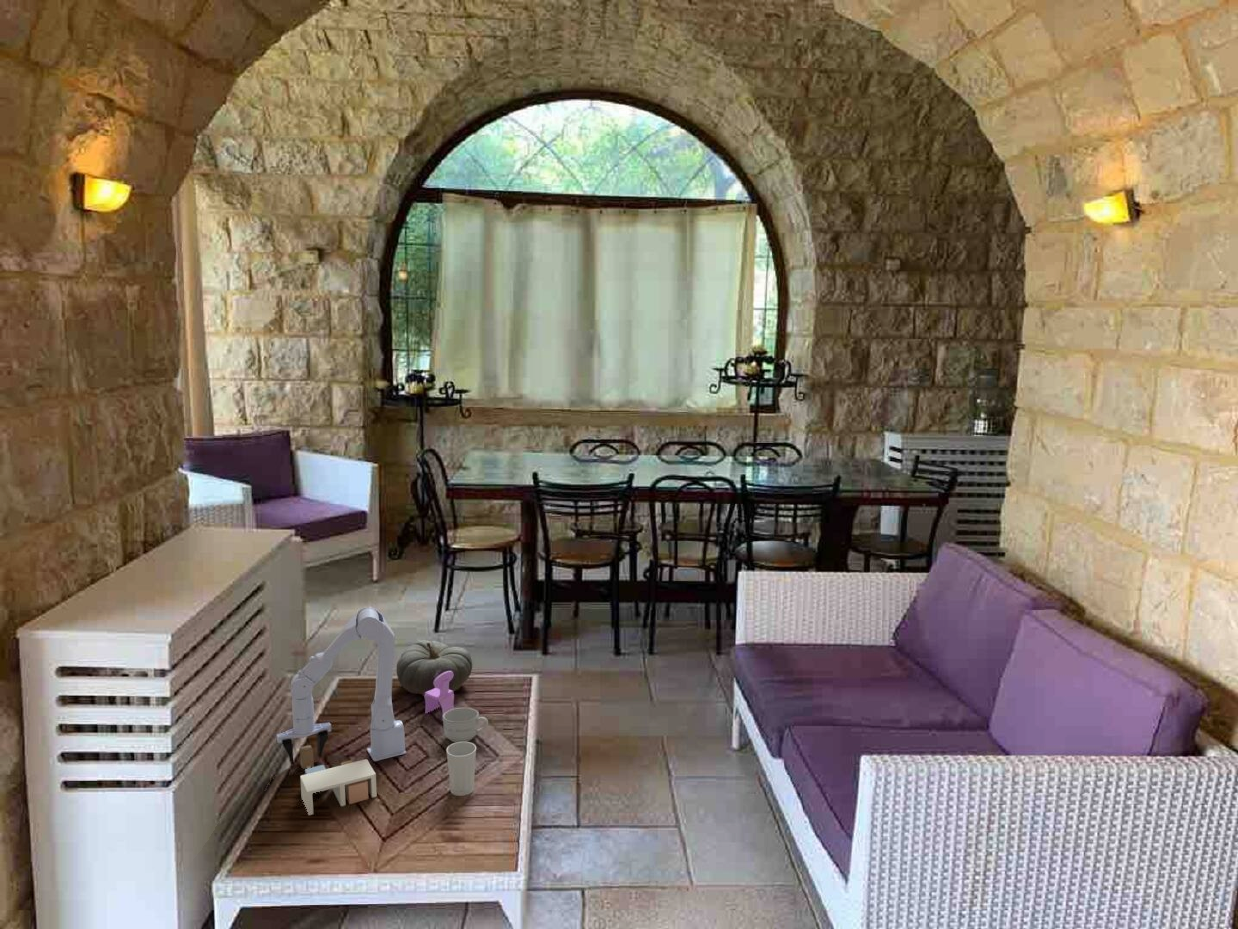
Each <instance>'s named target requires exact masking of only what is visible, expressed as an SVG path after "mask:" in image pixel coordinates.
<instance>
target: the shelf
mask: <svg viewBox="0 0 1238 929" xmlns="http://www.w3.org/2000/svg"><path fill="white" fill-rule="evenodd" d="M299 777H300V794H301V797H300V798H301V801H302V800H303V801H302V803H303V802H304V803H303V805H305V806H304V808H305V807H306V808H305V810H306V809H307V810H306V812H308V813H307V815H308V816H312V815H314V802H313V795H314V794H313V793H315V794H317V793H316V792H319V793H321V792H320V791H322V792H325V791H324V790H326V791H329V790H332V792H333V793H334V795H335V798H336V799H337V801H338V803H339V805H340V807H344V806H346V796H345V785H347V784H350V783H354V782H358V781H362V780H367V781H368V794H369V795H370V796H371V798H376V797H378V796H377V794H378V793H377V773H376V772H375V771H374V768H373V767H372V765H371V764H370V762H369V760H368V759H367V758H364V759H362V760H357V761H353V763H349V764H345V765H337V766H334V767H331V768H326V769H325V770H321V771H317V772H313V773H309V774H305V773H304V774H302V775H300V776H299ZM328 789H329V790H328Z"/></svg>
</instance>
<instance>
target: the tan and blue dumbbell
mask: <svg viewBox="0 0 1238 929" xmlns="http://www.w3.org/2000/svg"><path fill="white" fill-rule="evenodd" d="M299 758H300V766H301V769H302V768H303V769H304V768H307V769H305V770H304V775H305V774H309V773H313V772H317V771H321V770H325V769H327V768H326V766H325V765H324V764H321V765H316V766H315V765H314V749H313V747H312V745H311V744H309V745H305V746H300V747H299ZM311 767H312V768H311ZM303 769H302V770H303ZM329 790H330V789H328V790H324V791H323V792H326V791H329Z"/></svg>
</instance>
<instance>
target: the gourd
mask: <svg viewBox="0 0 1238 929" xmlns="http://www.w3.org/2000/svg"><path fill="white" fill-rule="evenodd" d="M471 657H472V656H471V654H470V653H469V651H468V650H467V649H466V648H463V647H459V646H452V647H450V646H449V645H447V644H446V643H443V642H441V641H437V640H432V641H431V640H427V639H423V640H422V639H419V640H416V641H415V642H414V643H413V644H412V645H410V646H408V647H407V648H406V649H405V650H404V652H403V653H402V654H401V656H400V658H399V659H398V660H397V663H396V675H397V680H398V683H399V684H400V686H401V687H402V688H404V689H405V690H406V691H408V692H409V693H411V694H416V695H417V694H418V695H422V696H423V697H424V696H425V692H427V691H430V690H432V689H434V688H435V686H434V684H433V682H434V680H435V679H436V678H437V677H438V676H439V675H440V674H442V673H444V672H446V671H452V672H453V674H454V676H453V678H452V680H451V681H450V682H449V690H452V691H453V692H455V691H458V690H459V689H460V688H461V687H462V686H463V684H465V683H466V682H467V680H468V679H469V678H470V676H471V674H472V670H473V661H472V658H471Z"/></svg>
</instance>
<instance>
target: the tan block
mask: <svg viewBox="0 0 1238 929" xmlns="http://www.w3.org/2000/svg"><path fill="white" fill-rule="evenodd" d="M353 762H354V761H353V760H352V759H350V760H346V761H342V762H340V764H341V765H345V764H349V763H353ZM341 765H340V766H341ZM345 799H346V800H347V802H348V804H349V805H352V804H355V803H358V802H362V801H366V800H369V791H368V781H367V780H362V781H358V782H354V783H350V784H347V785H345Z"/></svg>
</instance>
